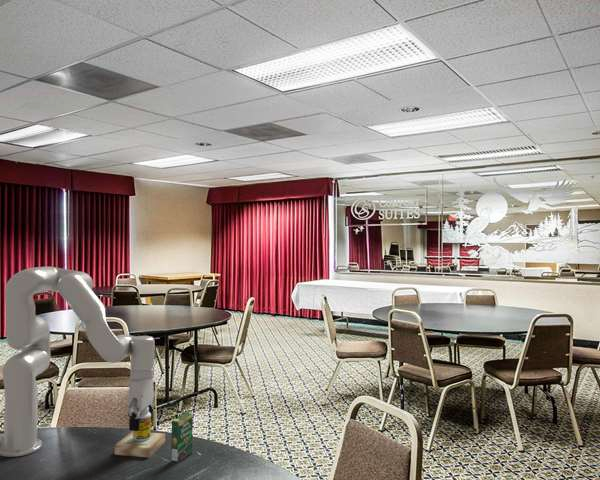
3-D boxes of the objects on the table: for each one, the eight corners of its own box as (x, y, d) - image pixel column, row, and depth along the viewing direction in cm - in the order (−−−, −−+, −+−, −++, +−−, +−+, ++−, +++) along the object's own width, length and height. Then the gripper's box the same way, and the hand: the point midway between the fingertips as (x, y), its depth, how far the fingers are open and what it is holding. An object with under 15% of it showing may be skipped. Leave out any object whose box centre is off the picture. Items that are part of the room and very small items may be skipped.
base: (114, 454, 157) (114, 444, 157) (132, 439, 169) (132, 430, 169) (149, 457, 155) (149, 447, 155) (165, 442, 167) (165, 433, 167)
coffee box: (177, 463, 151) (178, 421, 151) (170, 461, 152) (171, 420, 153) (192, 453, 159) (193, 413, 159) (185, 451, 160) (186, 412, 160)
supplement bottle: (135, 443, 158) (136, 411, 158) (130, 437, 163) (131, 406, 163) (152, 439, 161) (153, 408, 161) (147, 433, 166) (148, 404, 166)
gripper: (143, 366, 171) (142, 415, 171) (118, 380, 154) (117, 434, 154) (163, 367, 170) (162, 416, 170) (140, 381, 153) (139, 435, 153)
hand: (141, 424), depth 162 cm, fingers open, 9 cm apart
